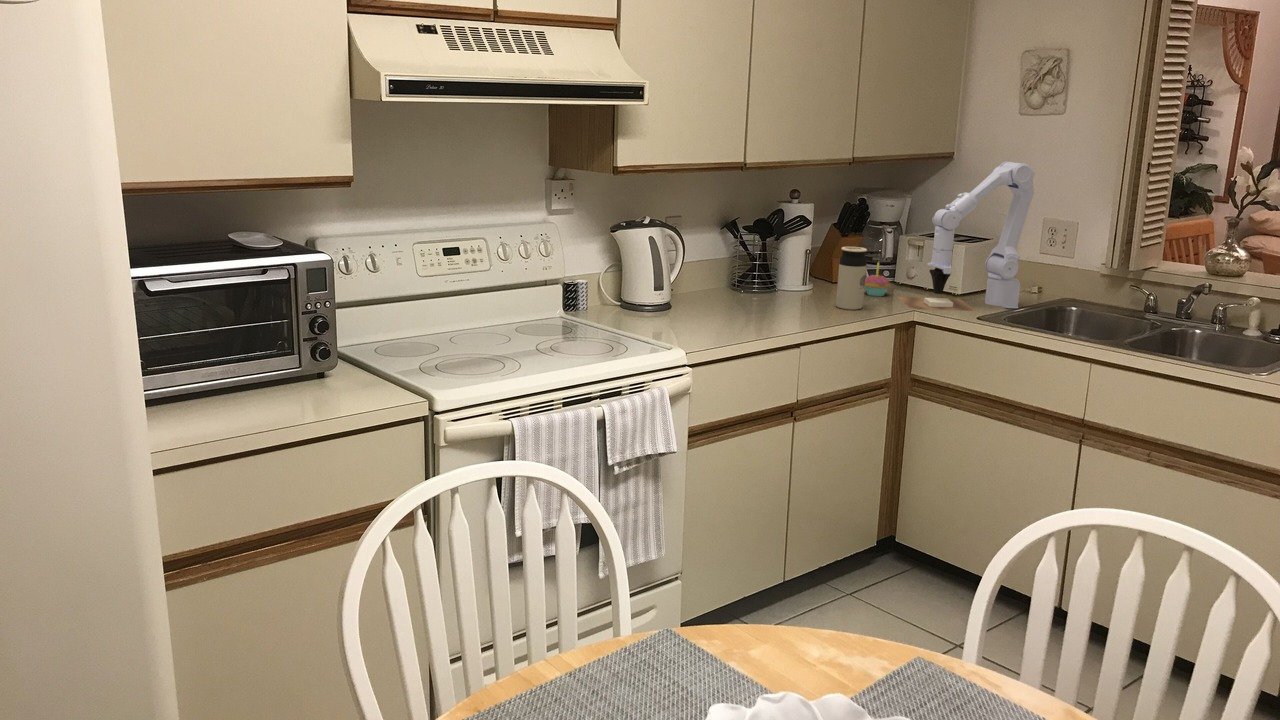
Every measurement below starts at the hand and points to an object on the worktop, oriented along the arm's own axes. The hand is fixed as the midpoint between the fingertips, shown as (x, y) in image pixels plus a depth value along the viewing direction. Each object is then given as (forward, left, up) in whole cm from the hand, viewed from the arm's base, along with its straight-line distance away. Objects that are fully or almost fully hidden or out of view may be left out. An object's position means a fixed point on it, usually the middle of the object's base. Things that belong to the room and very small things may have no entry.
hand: (937, 293), depth 311 cm
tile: (0, -2, -3) cm, 3 cm away
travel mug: (+28, +5, -4) cm, 29 cm away
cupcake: (+16, -13, -4) cm, 21 cm away
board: (0, -1, -4) cm, 4 cm away
